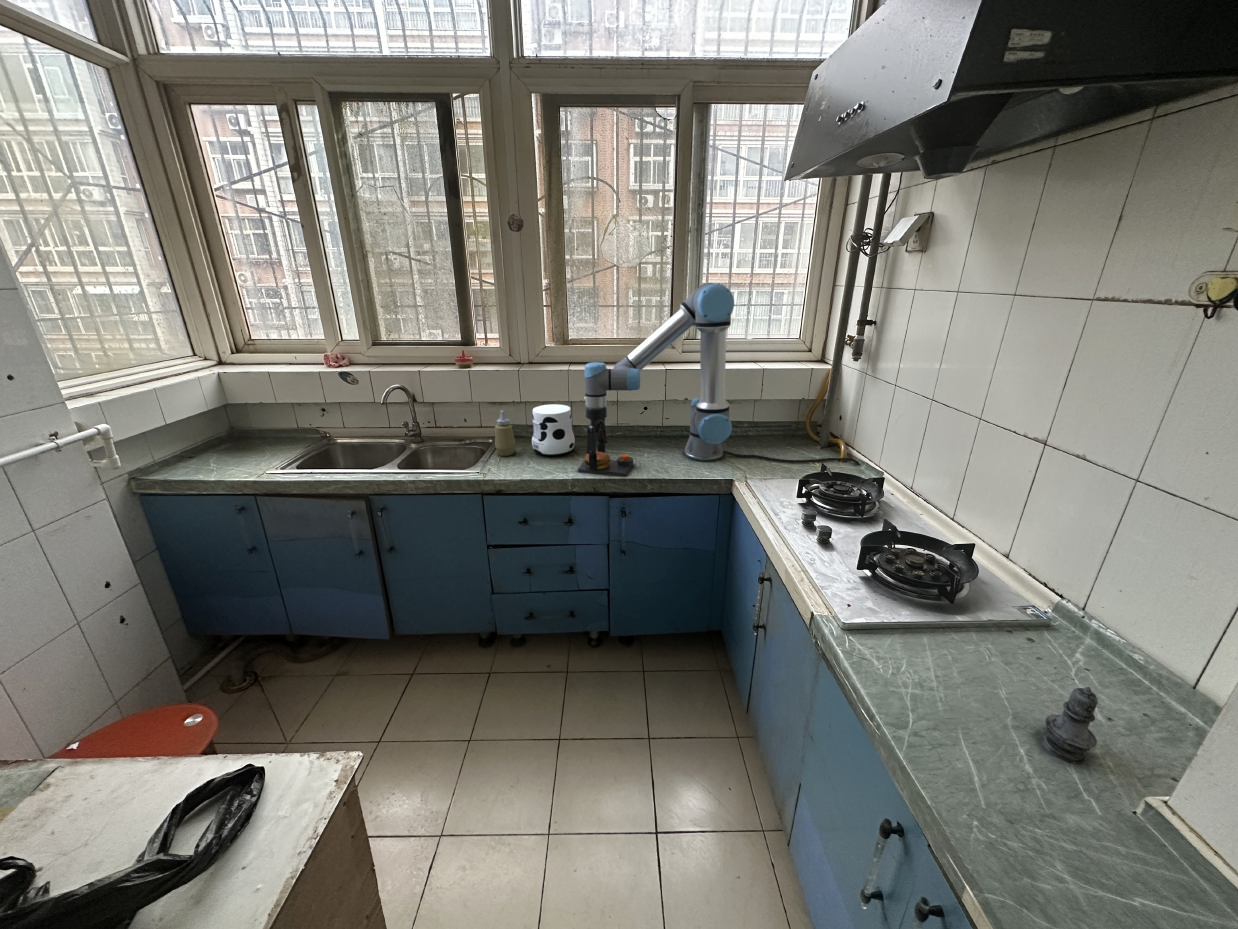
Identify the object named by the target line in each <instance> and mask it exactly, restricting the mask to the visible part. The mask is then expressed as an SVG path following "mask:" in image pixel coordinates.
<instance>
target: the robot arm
mask: <svg viewBox="0 0 1238 929" xmlns="http://www.w3.org/2000/svg"><path fill="white" fill-rule="evenodd" d="M734 308H735V299H734V295H733V293H732V291H731V290H730V289H729V288H728V287H727V286H725V285H724V284H721V283H720V282H719V283H718V282H707V283H703V284H701V285H700V286H698V287H697V288H695V290H693V292H692V293H691V294H690V295H689V296H688V297H687V298H686V299H684V301H683V302H681V303H680V305H679V309H678V310H677V311H676V312H675V313H674V314H672V315H671V316H670V317H669V318H668V319H667V320H666V321H665V322H664V323H662V324H661V325H660V326H659V327H657V329H655V330H654V331H653V332H652V333H651V334H649V335H648V337H647V338H645V339H644V340H643V341H642V342H641V343H640V344H638V345H637V346H636V347H635V348H634V349H633V350H631V352H630V353H628V354H627V355H626V356H625V357H624V358H623V359H622V360H619V361H618V362H616V363H615V364H614V366H613V368H607V364H606V363H605V362H599V361H596V362H595V361H594V362H587V363H586V364H585V366H584V376H583V378H584V395H585V396H584V397H583V400H584V401H585V417H586V419H588V420H590V423H589V425H587V428H586V429H587V437H586V438H587V440H586V442H587V443H586V451H585V453H586V454H585V455H587V454H589V470H593V471H597V453H596V452H603V453H606V444H608V437H607V431H606V430H607V429H606V418H607V417H608V415H607V414H608V408H607V406H608V405H607V404H608V402H607V391H629V392H631V391H638V390H640V388H641V371H642V370H643V369H645V368H646V367H647V366H648V365H649V364H650V363H651V362H653V361H654V360H655V359H656V358H657V357H659V355H661V354H663V352H664V351H665V350H667V349H668V348H669V347H670V346H671V345H672V344H673V343H675V342H676V341H677V340H679V338H681V337H682V336H683V335H684V334H685V333H687V331H689V330H690V329H691V328H692V327H695V328H696V329H697V330H698V331H699V346H700V347H699V348H700V349H699V350H700V352H699V356H700V358H699V360H700V361H699V362H700V363H699V364H700V366H699V368H700V370H699V371H700V379H699V380H700V384H699V385H700V386H699V388H700V397H696V398H693V399H692V400H691V402H690V403H691V404H690V422H689V423H690V424H689V436H688V439H687V442H686V445H685V448H684V456H685V457H686V458H688V459H691V460H695V461H701V462H714V461H718V460H720V459H722V458H723V457H724V455H729V456H733V457H736V458H737V457H738V458H755V459H761V460H762V459H763V460H767V461H773V462H778V463H779V462H780V463H791V464H793V463H796V464H797V463H798V464H799V463H801V464H802V463H804V464H805V463H820V462H828V461H836V462H838V461H849V462H852V463H854V464H856V465H857V466H861V463H860V462H859V461H858V460H856V459H855V458H851V457H824V458H813V459H786V458H785V459H784V458H775V457H769V456H764V455H760V454H759V455H758V454H743V453H742V454H741V453H734V452H731V451H726V450H724V448H723V444H722V443H723V442H725V441H726V440H727V439H728V438H729V437H730V436H731V433H732V431H733V425H732V421H731V419H730V403H729V402H728V401H727V400H726V362H727V361H726V358H727V357H726V354H727V330H728V329H730V327H731V325H732V313H733V312H734Z"/></svg>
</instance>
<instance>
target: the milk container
mask: <svg viewBox="0 0 1238 929" xmlns="http://www.w3.org/2000/svg"><path fill="white" fill-rule="evenodd" d="M531 412H532V417H531V418H532V436H531V445H532V449H533V451H534V452H535V453H537V454H539V455H543V456H551V457H553V456H562V455H566V454H568V453H570V452H572V451H573V450H574V448H575V442H576V440H575V439H576V437H575V434H574V431H573V424H572V422H573V420H572V419H573V418H572V409H571V407H570V406H569V405H565V404H558V403H557V404H555V403H554V404H544V405H543V404H542V405H538V406H535V407H534V408H532V411H531Z"/></svg>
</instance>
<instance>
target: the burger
mask: <svg viewBox="0 0 1238 929" xmlns="http://www.w3.org/2000/svg"><path fill="white" fill-rule="evenodd" d="M596 453H597V469H598V470H599V469H605V468H607V467H608V466H609V464H610V462H611V460H612V459H611V458H610V455H609V454H608V453H606V452H605V453H603V452H598V451H596ZM583 460H584V462H585V464H586V465H587V466H588V467H589V454H585V456H584V459H583Z"/></svg>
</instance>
